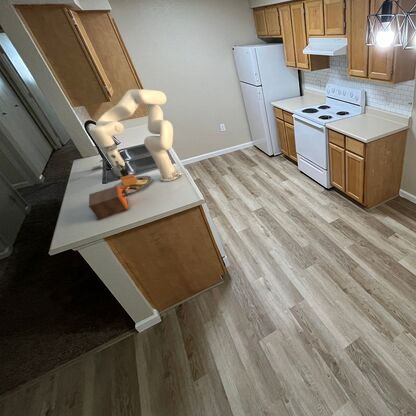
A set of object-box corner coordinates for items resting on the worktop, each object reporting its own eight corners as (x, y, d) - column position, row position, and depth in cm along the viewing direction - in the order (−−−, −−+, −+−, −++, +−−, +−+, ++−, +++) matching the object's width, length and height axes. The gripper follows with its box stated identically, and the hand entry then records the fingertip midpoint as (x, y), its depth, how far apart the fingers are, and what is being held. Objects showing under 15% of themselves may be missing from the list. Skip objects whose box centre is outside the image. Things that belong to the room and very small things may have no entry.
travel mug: (125, 177, 201) (111, 152, 189) (117, 177, 201) (102, 153, 189) (130, 173, 206) (117, 149, 194) (122, 173, 206) (108, 149, 194)
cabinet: (124, 199, 174) (116, 186, 168) (126, 210, 163) (117, 196, 157) (98, 207, 168) (89, 194, 162) (98, 219, 157) (88, 206, 151)
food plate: (105, 195, 180) (102, 191, 178) (129, 178, 198) (127, 174, 196) (137, 196, 176) (134, 191, 174) (159, 178, 195) (157, 174, 193)
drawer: (131, 196, 176) (123, 183, 170) (133, 207, 165) (125, 194, 159) (101, 205, 168) (92, 193, 163) (102, 217, 157) (92, 204, 152)
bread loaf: (136, 179, 189) (132, 172, 185) (137, 182, 186) (133, 175, 182) (124, 183, 185) (119, 176, 182) (124, 186, 182) (120, 178, 178)
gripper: (117, 149, 148) (134, 177, 159) (115, 142, 158) (131, 168, 169) (101, 153, 145) (119, 182, 156) (100, 145, 155) (118, 173, 166)
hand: (125, 175), depth 163 cm, fingers closed
